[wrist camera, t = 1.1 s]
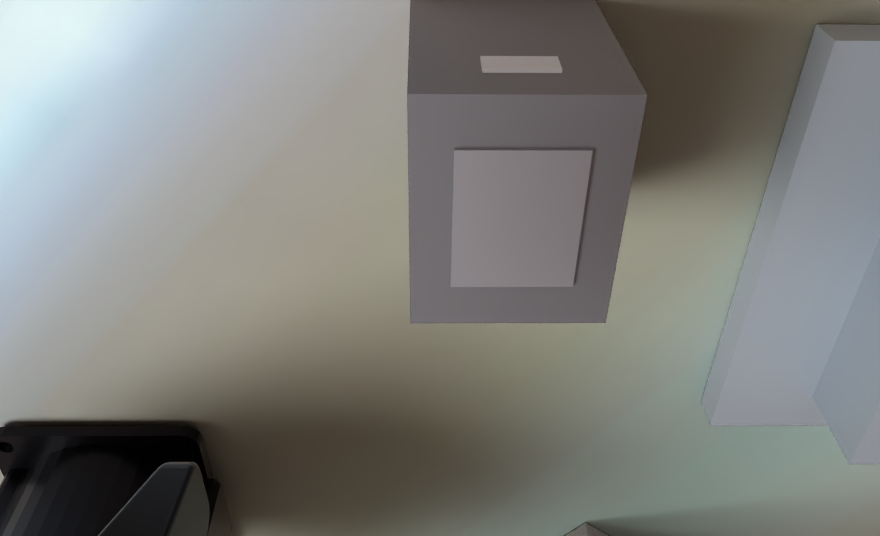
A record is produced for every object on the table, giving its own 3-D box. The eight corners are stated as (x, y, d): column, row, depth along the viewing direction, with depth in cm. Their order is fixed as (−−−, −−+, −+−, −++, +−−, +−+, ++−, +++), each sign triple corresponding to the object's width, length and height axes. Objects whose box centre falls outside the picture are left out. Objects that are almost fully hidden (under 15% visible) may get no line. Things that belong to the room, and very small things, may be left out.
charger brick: (412, 195, 20) (410, 326, 16) (410, -7, 17) (407, 91, 13) (568, 195, 20) (606, 325, 16) (594, -6, 17) (649, 92, 13)
